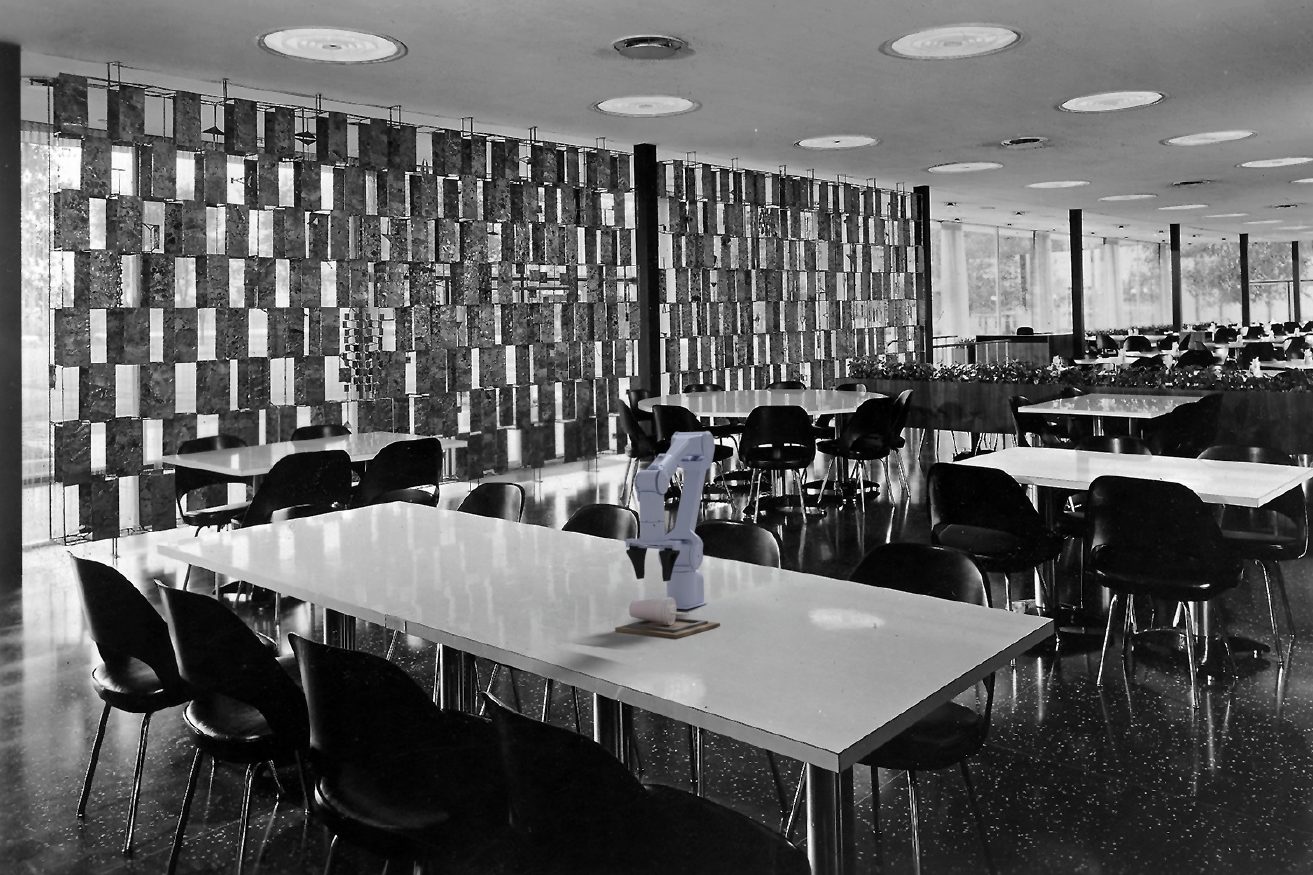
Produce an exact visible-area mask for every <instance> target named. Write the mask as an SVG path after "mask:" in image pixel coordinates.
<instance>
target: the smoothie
mask: <svg viewBox="0 0 1313 875" xmlns="http://www.w3.org/2000/svg"><path fill="white" fill-rule="evenodd" d="M677 610H678V608H676V602H675V600H674V598H671V597H667V596H666V598H656V599H655V598H654V599H645V600H644V599H640V600H632V601H631V602H630V603H629V608H628V611H629V615H630V618H634V619H640V620H643V621H644V620H649V621H654V622H659V623H664V624H665V625H672V624H673V623H674V621H675V618H677V616H689V615H690V612H681V611H680V612H679V611H677Z"/></svg>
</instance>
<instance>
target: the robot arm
mask: <svg viewBox="0 0 1313 875" xmlns="http://www.w3.org/2000/svg"><path fill="white" fill-rule="evenodd" d="M670 439H671V440H670V447H669V449H668V450H667V451H666V453H659V454H658V455H657V457H656V458H655V459H654V460H653V461H652V463H651V464H650V465H649V466H648V467H647V468H646V469H642V470H640V471H639V472H637V473H636V475H635V478H634V482H633V484H634V491H635V492H636V499H637V502H639V531H640V534H639V535H640V536H639V537H640V538H626V539H625V548H626V555H627V556H628V558H629V560H630V562H631V564H632V567H633V570H634V574H635V578H636V580H641V579H645V574H646V573H645V568H646V567H645V565H646V564H645V563H646V557H647V551H648V549H654V550H655V549H657V550H658V556H657V557H658V561H659V562H658V563H659V564H660V566H661V572H662V581H663V582H666V598H667V597H671V598H674V600H675V602H676V608H677V610H679V609H680V610H688V609H692V608H697V607H700V606H701V607H702V606H705V605H707V604H708V602H707V601H705V593H704V592H705V590H704V589H705V588H704V586H705V584H704V582H705V581H704V576H703V573H702V572H701V571H700V570H699V568H700V567H701V565H702V563H703V560H704V559H703V558H704V552H703V550H704V542H703V539H701V537H700V536H699V535H697V534H696V533H695V532H696V531H695V530H696V525H697V521H698V515H699V510H700V505H701V500H702V495H703V490H704V484H705V479H706V478H705V477H706V474H707V470H709V469H710V468H711V467H712V464H713V459H714V455H715V454H714V453H715V450H716V449H715V448H716V445H715V444H716V443H715V438H714V436H713V434H712V433H711V431H709V430H706V431H693V432H692V431H689V432H688V431H687V432H680V431H675V432H674V433H673V435H672V436H671V438H670ZM678 467H679V468H681V469H682V470H684V471H685V474H684V480H683V485H682V488H681V489H682V490H681V494H680V500H679V505H678V509H677V514H676V520H675V525H674V528H673V529H672V530H671V531H669V532H668V533H667V534H666V530H665V527H666V526H665V524H666V523H665V494H666V493H667V492H668V489H669V485H670V482H671V481H670V480H671V478H672V477H673V476H674V475H675V474H676V473H677V471H678ZM627 548H628V549H627Z"/></svg>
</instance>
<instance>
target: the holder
mask: <svg viewBox="0 0 1313 875" xmlns="http://www.w3.org/2000/svg"><path fill="white" fill-rule="evenodd" d="M718 626H719V627H721V622H714V621H713V622H712V621H708V620H702V619H695V618H694V619H693V618H686V617H685V618H684V617H683V618H682V617H676V618H675V621H674V623H673V624H672V625H665V624H664V623H659V622H654V621H649V620H644V619H643V620H641V621H640V620H639V621H636V622H632V623H628V624H625V625H620V626H617V627H616V626H615V627H614V629H615V632H618V633H627V634H628V633H629V634H635V635H641V636H642V635H643V636H652V637H659V638H668V639H680V638H684V637H687V636H690V635H695V634H698V633H702V632H706V631H710V630H712V629H713V630H714V629H715V628H718Z"/></svg>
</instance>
